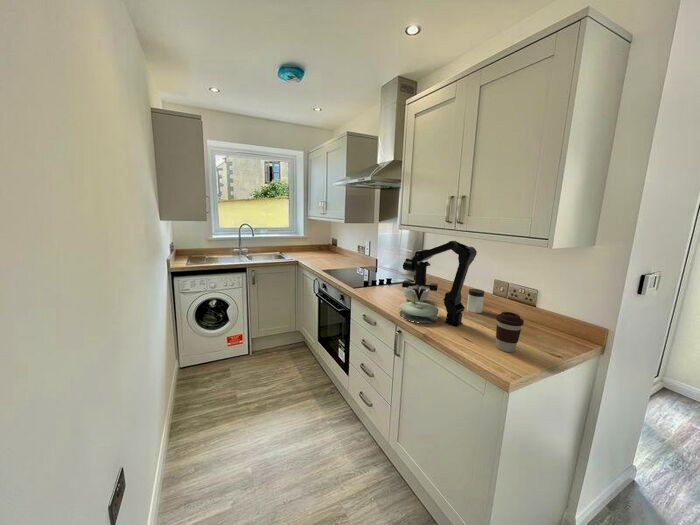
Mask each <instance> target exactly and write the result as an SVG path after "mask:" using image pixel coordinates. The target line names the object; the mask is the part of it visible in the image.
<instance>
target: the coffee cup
mask: <svg viewBox="0 0 700 525" xmlns="http://www.w3.org/2000/svg"><path fill="white" fill-rule="evenodd" d="M495 319H496V321H497V322H496V327H495V328H496V330H495V331H496V332H495V338H496V339H495V347H496V348H497V349H498V350H500V351H503V352H507V353H514V352H515V351H516V348H517V344H518V342H519V339H520V335H521V331H522V326H523V325H524V323H525V320H524V319H523V318H521V316H520V315H519V314H517V313H514V312H510V311H503V312H501V313H499V314H496V317H495Z"/></svg>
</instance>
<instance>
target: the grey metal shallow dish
mask: <svg viewBox="0 0 700 525" xmlns="http://www.w3.org/2000/svg"><path fill="white" fill-rule="evenodd" d="M399 314H400V316H401V317H403V318H404V319H407V320H410V321H414V322H419V323H431V324H434V323H437V322H438V321H439V317H438V314H437V315H435V316H428V317H424V316H415V315H411V314H408V313H405V312H403V311H402V310H401V309H400V311H399ZM399 314H398V315H399ZM400 316H399V317H400ZM401 317H400V318H401ZM404 319H403V320H404Z"/></svg>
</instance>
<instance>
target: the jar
mask: <svg viewBox="0 0 700 525" xmlns="http://www.w3.org/2000/svg"><path fill="white" fill-rule="evenodd" d="M484 300H485V291H484V290H482V289H478V288H470V289H469V290H468V297H467V303H466V310H467V312H471V313H473V314H481V313H483V308H484V307H483V306H484Z"/></svg>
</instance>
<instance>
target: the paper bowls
mask: <svg viewBox="0 0 700 525" xmlns="http://www.w3.org/2000/svg"><path fill="white" fill-rule="evenodd" d="M420 289H421V287H419V293H420ZM429 291H430V289H429V288H427V289H426V291H423V293H422V295H421V298H420V300H419V301H418V298H417V295H416V293H415V290H413V286H409V287H408V288H405V287H403V296H405V297H406V300H408V302H411V295H412V294H415V295H416V300H415V302H421V303H424V301H425V300H427V299H428V297H429Z"/></svg>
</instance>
